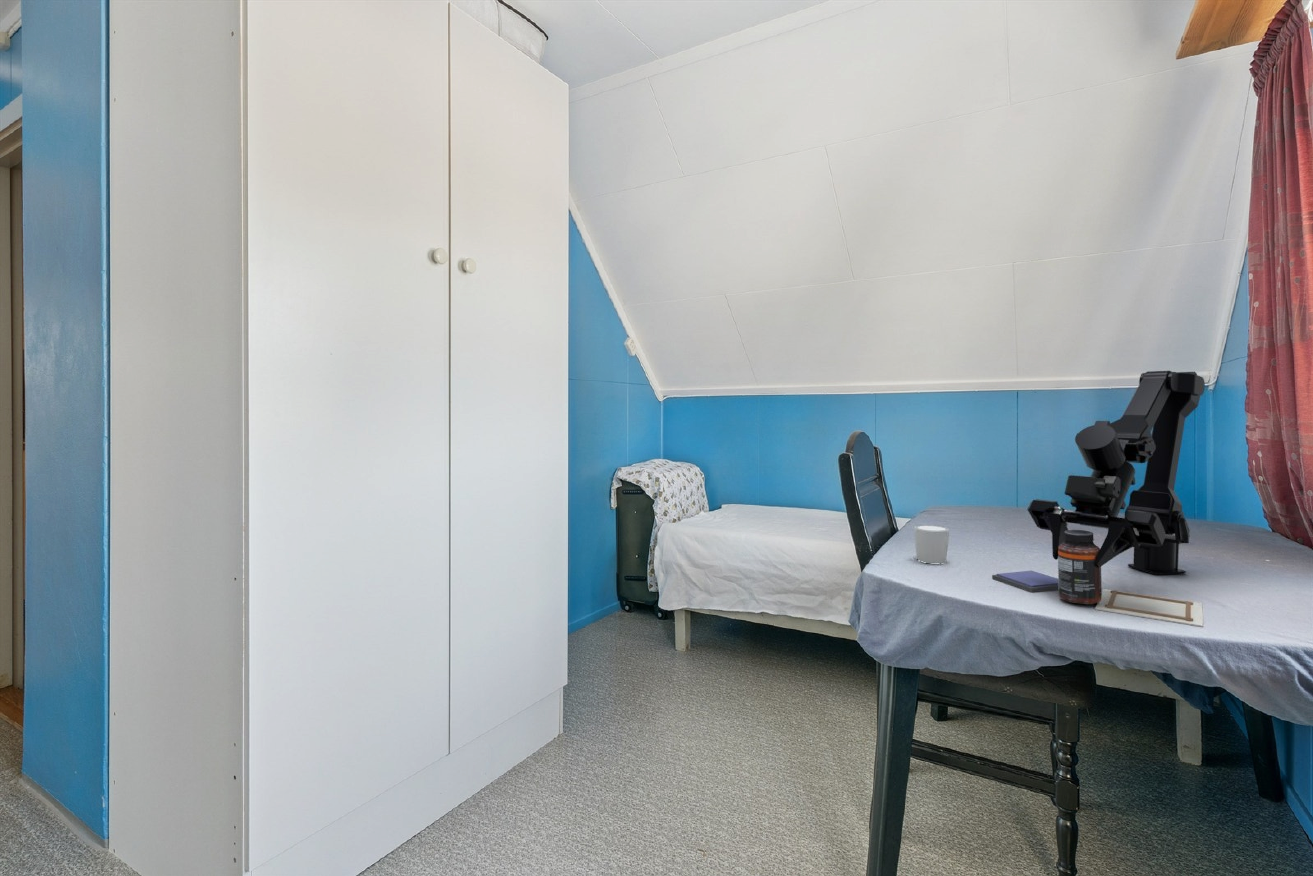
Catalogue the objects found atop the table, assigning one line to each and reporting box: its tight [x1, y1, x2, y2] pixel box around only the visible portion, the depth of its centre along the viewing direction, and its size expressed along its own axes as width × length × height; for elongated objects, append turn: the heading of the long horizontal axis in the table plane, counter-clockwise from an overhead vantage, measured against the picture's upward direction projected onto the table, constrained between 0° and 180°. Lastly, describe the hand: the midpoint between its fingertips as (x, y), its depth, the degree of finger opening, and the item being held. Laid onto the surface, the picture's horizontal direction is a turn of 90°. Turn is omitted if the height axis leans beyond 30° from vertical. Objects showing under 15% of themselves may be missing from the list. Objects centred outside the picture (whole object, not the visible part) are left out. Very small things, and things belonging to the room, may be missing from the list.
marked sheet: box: [1094, 588, 1204, 628], centre depth 102 cm, size 13×13×1 cm
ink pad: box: [991, 570, 1059, 593], centre depth 116 cm, size 9×9×1 cm
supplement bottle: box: [1057, 529, 1103, 605], centre depth 104 cm, size 6×6×11 cm
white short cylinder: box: [913, 524, 951, 564], centre depth 132 cm, size 7×7×7 cm
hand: (1075, 561), depth 104 cm, fingers closed on supplement bottle, 6 cm apart
